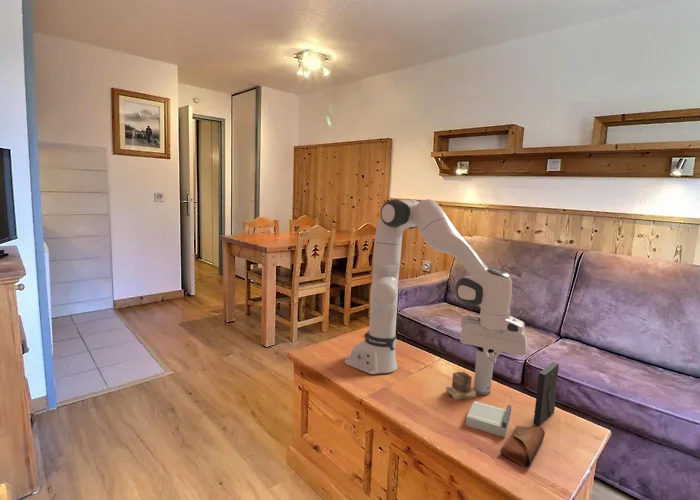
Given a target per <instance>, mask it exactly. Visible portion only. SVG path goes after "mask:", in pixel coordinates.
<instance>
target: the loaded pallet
mask: <svg viewBox="0 0 700 500" xmlns="http://www.w3.org/2000/svg"><path fill="white" fill-rule="evenodd" d="M472 379H473V378H472V376H471V375H469V373H467V372H465V371H457V372H452V383H451V385H449V386H446V387H445V393H447V396H449V395H450V396H451V397H452V399H453V400H454V401H459V400H467V399H473V398H477V393H476V391H475V390H474V387H472V381H473V380H472Z"/></svg>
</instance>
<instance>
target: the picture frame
mask: <svg viewBox="0 0 700 500" xmlns="http://www.w3.org/2000/svg"><path fill="white" fill-rule="evenodd" d="M559 366H560V365H559V363H558V362H551V363H550V364H549V365H547V366H546V367H545V368H544V369H542V370H541V371H540V372H539V373H538V380H537V389H536V397H535V406H534V407H535V408H534V416H533V425H535V426H537V427H541V426H542V425H543V423H544V422H545V421H546V420H547V419H548V418H550V417H552V415H553V414H555V408H556V393H557V392H556V391H557V383H558V375H559Z"/></svg>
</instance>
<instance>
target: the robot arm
mask: <svg viewBox="0 0 700 500" xmlns="http://www.w3.org/2000/svg"><path fill="white" fill-rule="evenodd" d="M416 228H418V230H419V231H420V234H421V235H422V238H423V240H424V241H425V242H426V244H427V245H428V246H429V247H430V248H431V249H432V250H434V251H436V252H440V253H444V254H447V255H450V256H452V257H454V258H456V259H457V260H459V262H460V263H461V264H462V266H463V267H464V268H465V270H466V271H467V272H468V274H469V275H468V276H463V277H461V278H459V279H458V280H457V281H456V283H455V287H454V294H455V296H456V298H457V299H456V300H458V301H459V302H460V303H461V304H463V305H466V306H479V307H480V314H479V317H477V316H470V315H466V316H464V317H462V318H461V320H460V326H461V331H460V335H459V336H460V337H459V341H460V342H461V344H464V345H469V346H474V347H477V346H478V347H483V351H484V353H485V355H486V361H487V362H492V363H493V364H496V363H497V358H498V357H499V355H500V354H501V353H502V352H504V353H506V354H507V353H508V354H513V355H518V356H521V357H522V356H525V354H527V352H528V351H527V350H528V339H527V338H528V337H527V333H526V331H525V330H524V329H525V322H524V321H523V320H520V319H518V318H516V317H514V316H512V315H511V309H510V304H511V302H512V295H513V281H512V277H511V275H510V274H509V273H508V272H506V271H505V270H501V269H497V268H488V266H487V265H486V264H485V262H484V261H483V260H482V259H481V258H480V256H479V255H478V253H477V252H476V250H474V248H473V246H472V245H471V244H470V243H469V242H468V241H467V239H465V238H464V236H462V235H461V233H460V232H459V231H458V230H457V229H456V227H455V226H454V224H453V223H452V222H451V220H450V218H449V217H448V215H447V213H445V211H444V210H443V208H442V207H441V206H440V205H439V204H438V203H437V202H436V200H434V199H430V198H429V199H423V200H420V199H418V200H415V199H412V198H411V199H410V198H404V199H394V198H393V199H390V200H387V201H386V202H384V203H383V205H381V209H380V218H378V222H377V225H376V229H375V230H376V231H375V234H374V235H375V236H374V246H373V258H372V259H373V260H372V281H371V287H370V291H369V292H370V294H369V295H370V297H369V304H370V305H369V326H368V331H367V332H365V333H364V334H363V335H362V336H363V337H362V338H364V340H362V341H361V342H359V343H357V344H356V345H354V346H353V347H352V349H351V352H350V354H349V355H348V356H347V357H345V360H344V364H345V365H347V366H349V367H352V368H355V369H357V370H360V371H362V372H365V373H368V374H369V375H375V374H389V373H392V372H395V371H396V370H397V369H398V362H397V358H396V357H397V356H396V347H397V334H396V330H397V314H398V312H397V311H398V299H399V277H400V267H401V257H402V246H403V234H404V231H406V229H409V230H412V229H416ZM489 349H492V350H494V356H492V355H489V353H488V350H489Z"/></svg>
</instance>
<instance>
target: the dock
mask: <svg viewBox="0 0 700 500" xmlns="http://www.w3.org/2000/svg"><path fill="white" fill-rule="evenodd" d="M511 414H512V405H510V404H507V406H506V408H503V407H500V406H499V407H498V406H495V405H491V404H489V403H488V404H487V403H484V402H480V401H477V400H473V403H472V405H471V406H470V408H469V411H468V413H467V415H466V419H465V426H467V427H470V428H473V429H476V430H479V431H483V432H487V433H490V434H493V435H496V436H500V437H501V438H506V436H507V432H508V429H509V425H510V422H511Z"/></svg>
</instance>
